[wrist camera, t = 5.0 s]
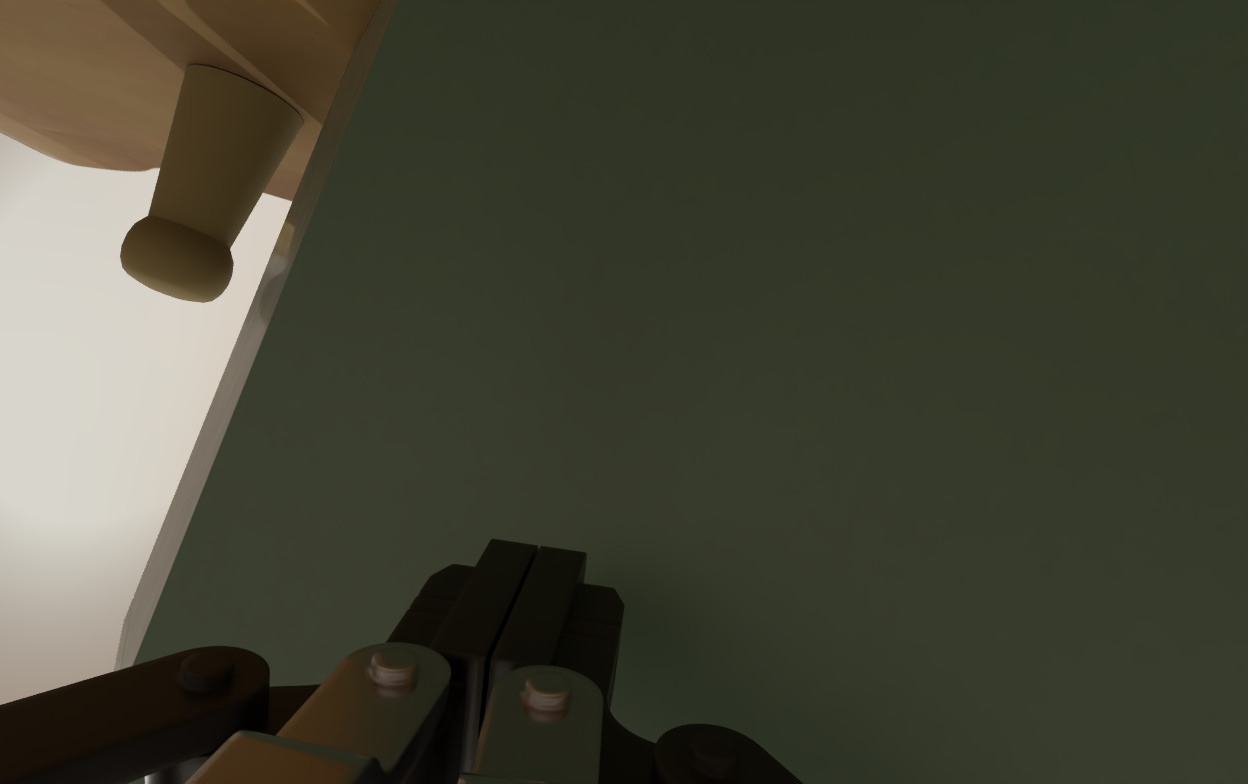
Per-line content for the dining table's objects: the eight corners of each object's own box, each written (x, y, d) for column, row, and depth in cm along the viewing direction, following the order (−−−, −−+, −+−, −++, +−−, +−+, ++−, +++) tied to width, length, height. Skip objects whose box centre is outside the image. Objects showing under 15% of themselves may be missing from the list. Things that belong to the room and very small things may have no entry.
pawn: (320, 119, 49) (240, 318, 47) (280, 132, 53) (207, 313, 52) (204, 55, 45) (113, 268, 44) (172, 75, 50) (90, 268, 48)
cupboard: (480, -180, 22) (79, 833, 19) (1156, 262, 33) (969, 961, 30) (352, 52, 39) (123, 622, 36) (833, 298, 49) (689, 753, 46)
